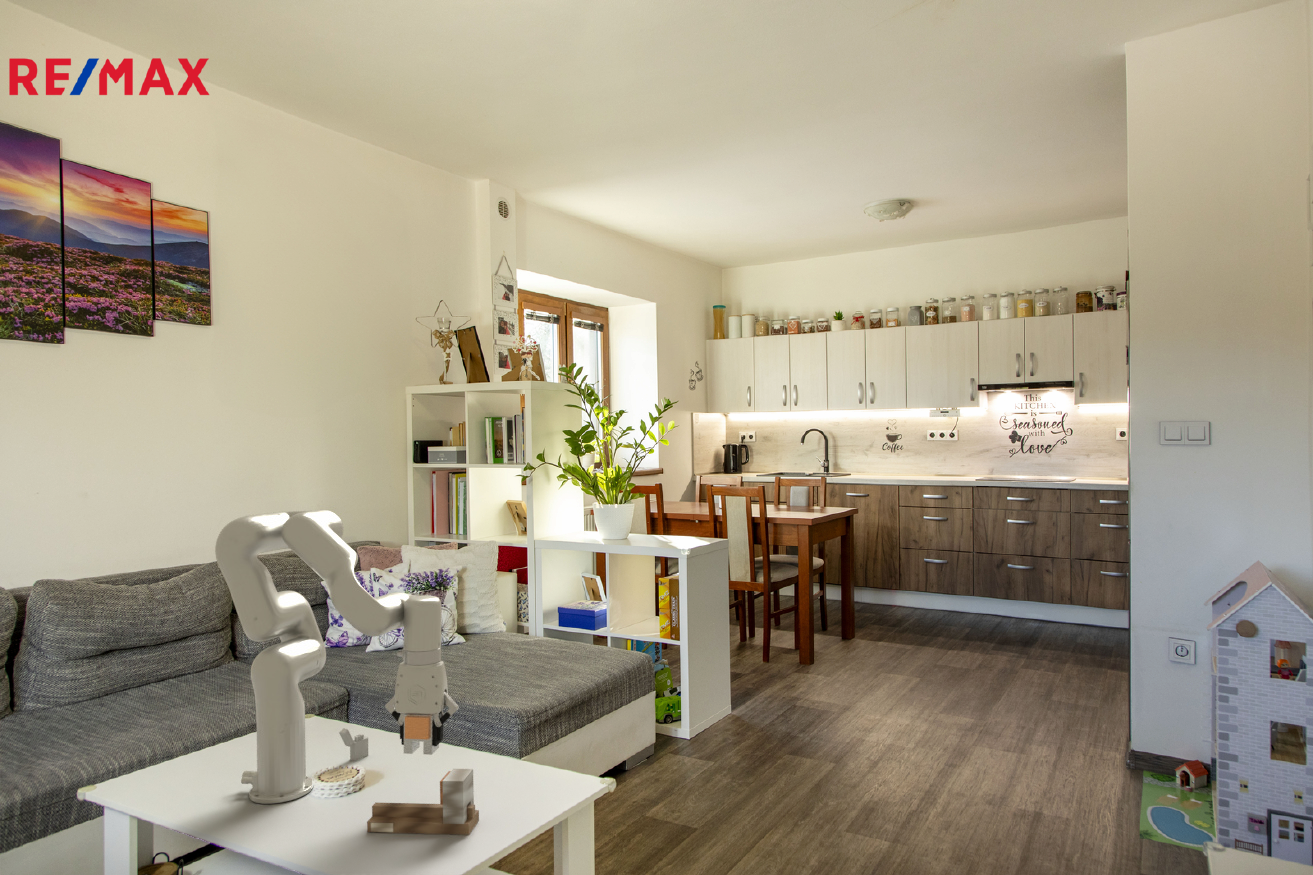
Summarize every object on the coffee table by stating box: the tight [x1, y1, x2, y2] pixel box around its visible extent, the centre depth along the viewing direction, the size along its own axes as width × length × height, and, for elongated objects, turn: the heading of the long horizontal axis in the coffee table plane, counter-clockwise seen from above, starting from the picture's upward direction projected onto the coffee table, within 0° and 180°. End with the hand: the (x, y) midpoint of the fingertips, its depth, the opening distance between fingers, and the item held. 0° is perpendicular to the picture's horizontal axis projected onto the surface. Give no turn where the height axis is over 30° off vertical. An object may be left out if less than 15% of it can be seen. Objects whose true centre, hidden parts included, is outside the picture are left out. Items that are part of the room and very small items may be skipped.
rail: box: [366, 768, 480, 836], centre depth 159 cm, size 20×6×10 cm, turn 84°
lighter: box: [338, 728, 369, 762], centre depth 195 cm, size 7×2×8 cm, turn 149°
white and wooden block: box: [403, 714, 440, 756], centre depth 171 cm, size 5×6×8 cm
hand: (421, 742), depth 171 cm, fingers closed on white and wooden block, 6 cm apart
